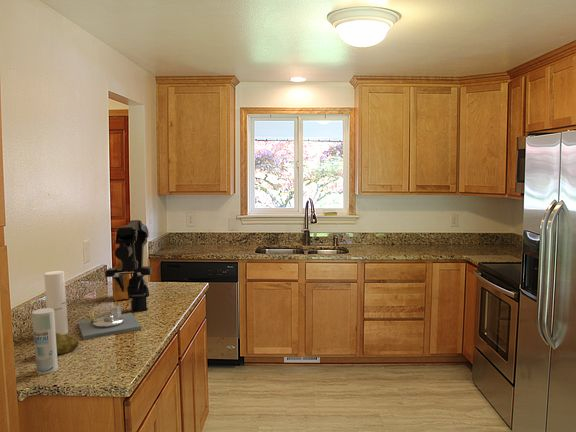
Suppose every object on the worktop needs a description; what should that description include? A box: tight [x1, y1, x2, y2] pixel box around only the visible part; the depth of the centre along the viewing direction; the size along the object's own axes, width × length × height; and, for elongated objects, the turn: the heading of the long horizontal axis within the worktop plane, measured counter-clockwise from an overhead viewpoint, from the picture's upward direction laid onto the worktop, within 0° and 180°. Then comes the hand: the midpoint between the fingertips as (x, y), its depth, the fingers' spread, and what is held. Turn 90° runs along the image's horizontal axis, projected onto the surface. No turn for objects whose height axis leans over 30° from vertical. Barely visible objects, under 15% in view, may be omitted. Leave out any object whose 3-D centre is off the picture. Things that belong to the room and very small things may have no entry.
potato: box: [55, 332, 79, 355], centre depth 172 cm, size 8×13×8 cm, turn 104°
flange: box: [93, 304, 124, 327], centre depth 202 cm, size 12×15×4 cm
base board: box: [77, 311, 142, 341], centre depth 200 cm, size 22×22×6 cm
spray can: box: [31, 307, 59, 375], centre depth 157 cm, size 6×6×20 cm
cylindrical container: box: [43, 270, 69, 335], centre depth 193 cm, size 7×7×25 cm
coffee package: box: [111, 259, 132, 302], centre depth 246 cm, size 10×12×22 cm
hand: (130, 291), depth 208 cm, fingers open, 6 cm apart
